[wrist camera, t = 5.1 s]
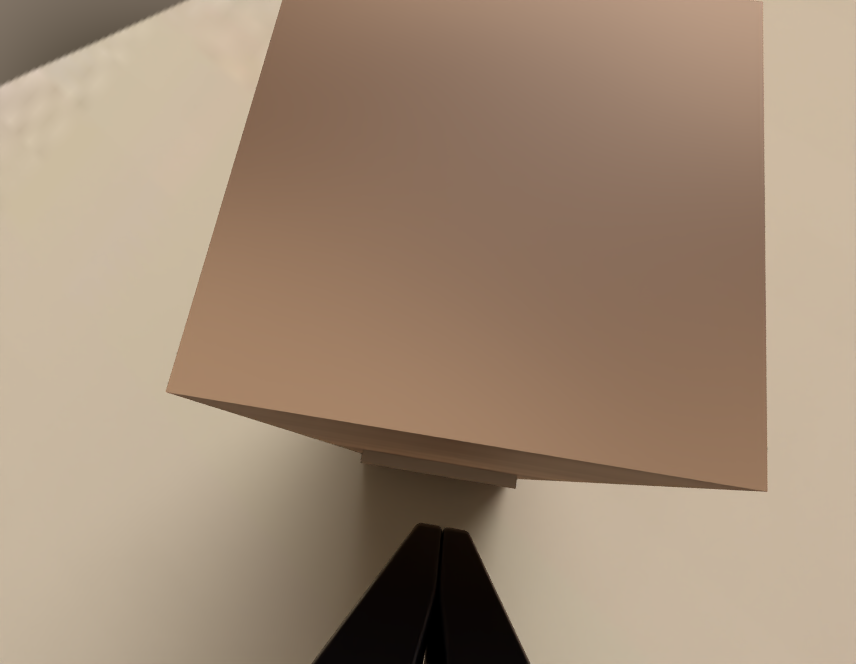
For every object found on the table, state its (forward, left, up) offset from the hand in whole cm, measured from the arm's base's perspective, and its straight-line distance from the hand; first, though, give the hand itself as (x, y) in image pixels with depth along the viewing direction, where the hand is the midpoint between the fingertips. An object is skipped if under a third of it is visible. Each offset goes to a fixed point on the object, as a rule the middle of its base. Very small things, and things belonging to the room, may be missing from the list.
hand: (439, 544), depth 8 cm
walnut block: (+3, -3, -9) cm, 10 cm away
